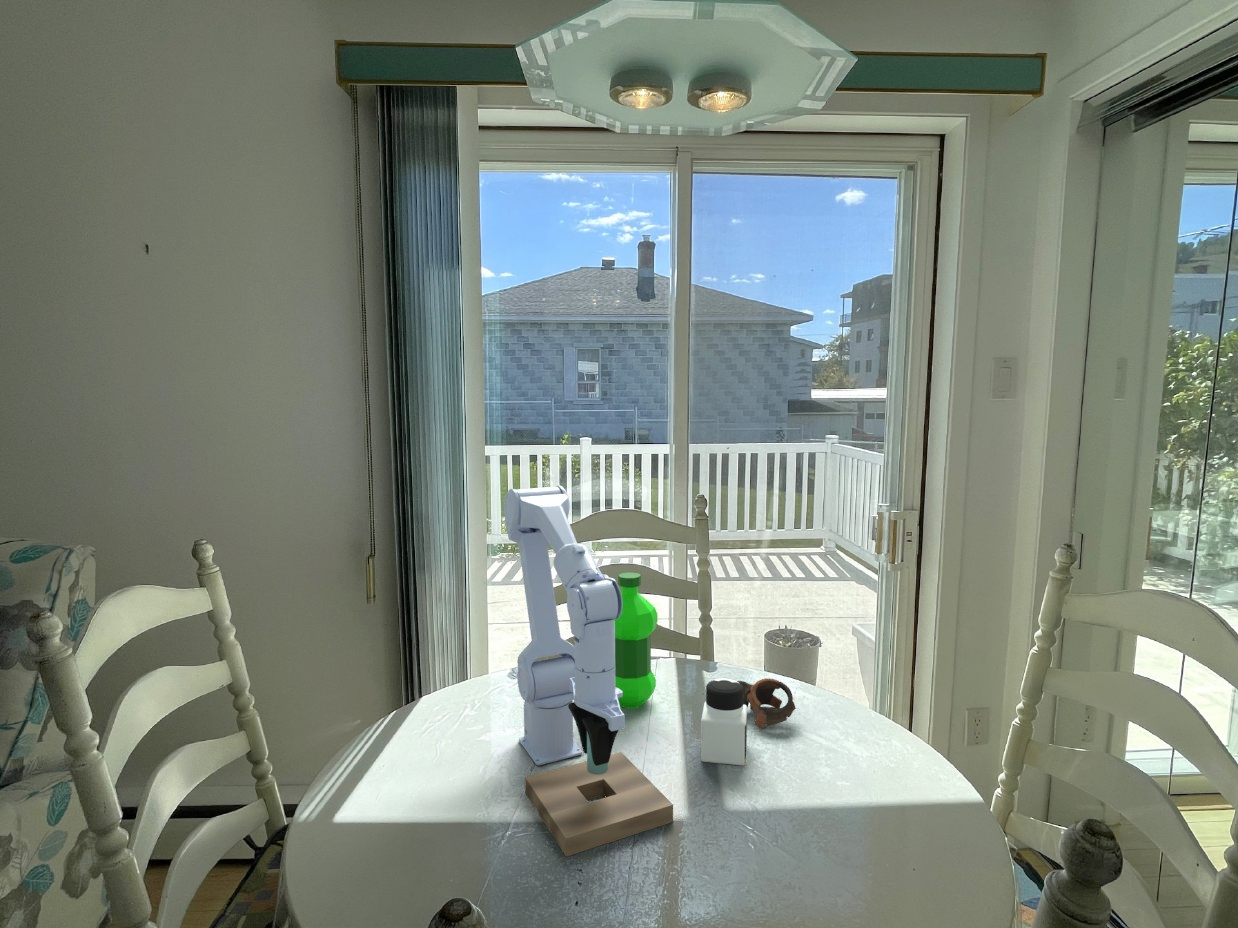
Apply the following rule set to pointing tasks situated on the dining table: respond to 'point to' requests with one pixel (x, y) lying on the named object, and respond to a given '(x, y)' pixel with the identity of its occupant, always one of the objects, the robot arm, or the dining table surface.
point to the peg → (590, 764)
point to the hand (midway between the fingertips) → (596, 757)
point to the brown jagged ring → (767, 701)
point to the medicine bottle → (724, 723)
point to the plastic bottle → (634, 644)
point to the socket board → (597, 803)
